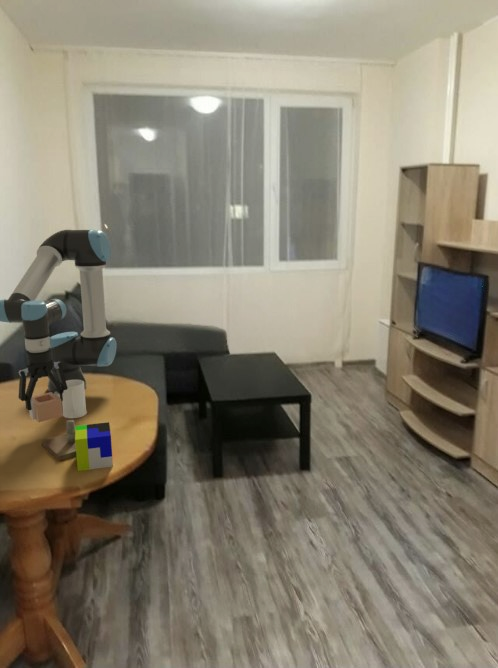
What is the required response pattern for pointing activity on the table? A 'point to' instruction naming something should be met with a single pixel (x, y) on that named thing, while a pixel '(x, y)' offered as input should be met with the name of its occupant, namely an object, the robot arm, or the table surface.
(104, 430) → the puzzle toy
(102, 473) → the table surface
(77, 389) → the mug
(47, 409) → the collar
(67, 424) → the square plate with peg
